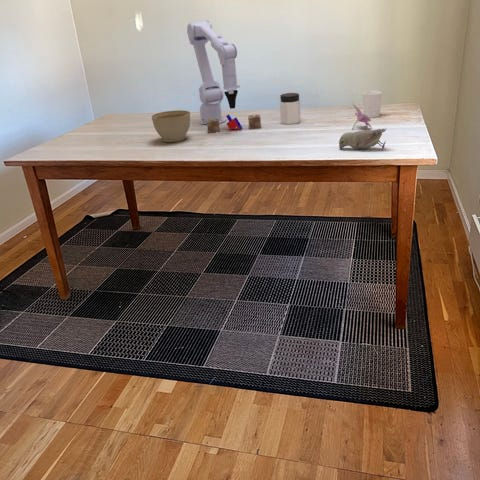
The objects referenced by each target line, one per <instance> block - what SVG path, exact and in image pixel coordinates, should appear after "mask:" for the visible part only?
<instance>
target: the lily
mask: <svg viewBox="0 0 480 480" xmlns="http://www.w3.org/2000/svg"><path fill="white" fill-rule="evenodd" d="M351 104H352V106H353V107H354V108H355V110H356V112H355V113H354V115H355V116H356V121H355V123H354V124H353V126H352V128H351V131H353V129H354V128H355V126H356V124H357V123H358V122H360V123H364V124H365V125H366V126H369V127H370V128H371V129H373V127H372V126H371V124H370V123H369V122H371V121H372V118H369V117H368V116H367V115H365V114H364V113H363V112H362V111H361V109H359V108H358V107H357V106H356V105H355V104H354V103H351Z"/></svg>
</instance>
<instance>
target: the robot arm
mask: <svg viewBox="0 0 480 480" xmlns="http://www.w3.org/2000/svg"><path fill="white" fill-rule="evenodd" d="M186 28H187V29H186V34H187V37H188V41H189V44H190V45H192V46H193V50H194V54H195V57H196V61H197V65H198V69H199V72H200V76H201V80H202V84H201V85H200V86H199V89H198V93H199V100H200V102H201V103H202V104H201V105H200V107H199V113H200V114H199V115H200V123H199V124H201V125H207V120H209V119H219V125H220V124H222V123H225V122H226V119H223V118H222V117H223V116H222V108H221V103H222V101H223V99H224V95H225V97H226V99H227V102H228V106H229V109H231V110H232V109H236V102H237V101H236V100H237V96H238V90H237V89H238V88H240V87H241V85H240V84H238V79H237V70H236V69H237V68H236V58H237V56H238V50H237V46H236V45H235V44H234V43H228V41H227V40H226V39H224V37H223V36H222V35H221V34H216V33H215V31H214V30H213V25H212V23H211V21H210V20H204V21H197V22H188V24H187V27H186ZM209 42H210V46H211V47H212V48H213V49H214V51H215V52H216V53H217V57H218V59H219V64H220V65H221V72H222V73H221V74H222V83H223V89H222V88H221V85H220V83H219V82H217V81H215V79H214V76H213V71H212V69H211V65H210V61H209V57H208V53H207V50H206V45H207V43H209ZM223 90H224V91H223ZM225 90H226V91H225Z"/></svg>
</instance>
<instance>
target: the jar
mask: <svg viewBox="0 0 480 480" xmlns="http://www.w3.org/2000/svg"><path fill="white" fill-rule="evenodd" d="M279 98H280V101H279V109H280V110H279V111H280V123H281V124H284V125H295V124H299V123H300V122H301V100H300V94H299V93H298V92H287V93H282V94H280V97H279Z"/></svg>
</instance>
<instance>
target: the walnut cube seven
mask: <svg viewBox="0 0 480 480" xmlns="http://www.w3.org/2000/svg"><path fill="white" fill-rule="evenodd" d="M206 125H207V134H216V132H218V133H220V132H221V126H220V124H219V119H209V120H207V124H206Z"/></svg>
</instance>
